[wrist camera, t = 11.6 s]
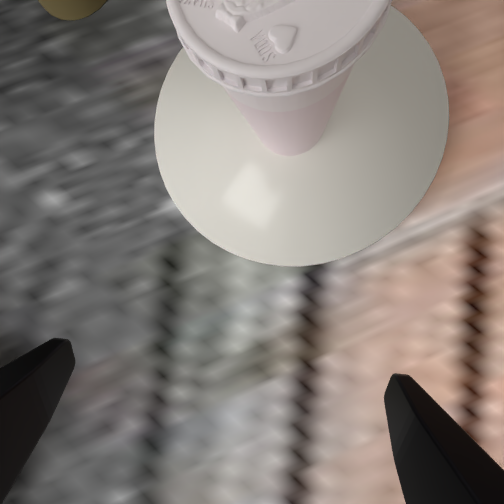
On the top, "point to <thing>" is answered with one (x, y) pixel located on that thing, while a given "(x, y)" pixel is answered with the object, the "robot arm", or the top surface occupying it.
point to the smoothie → (280, 58)
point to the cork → (71, 8)
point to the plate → (308, 157)
